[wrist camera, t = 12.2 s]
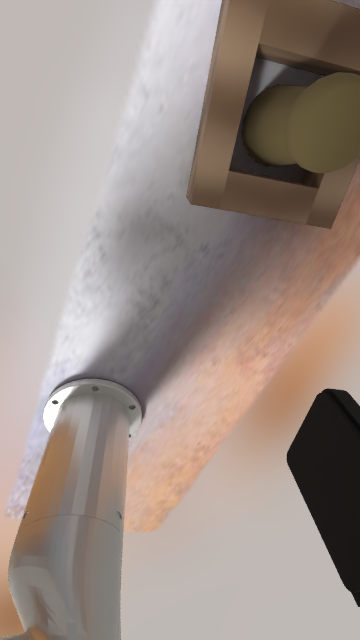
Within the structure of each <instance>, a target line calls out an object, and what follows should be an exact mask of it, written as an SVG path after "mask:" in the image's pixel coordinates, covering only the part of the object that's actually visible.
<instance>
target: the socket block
mask: <svg viewBox="0 0 360 640" xmlns="http://www.w3.org/2000/svg"><path fill="white" fill-rule="evenodd" d="M255 57H258V58H262V59H266V60H269V61H273V62H277V63H281V64H284V65H288V66H292V67H296V68H299V69H303V70H307V71H311V72H314V73H318V74H322V75H326V76H328V75H331V74H334V73H337V72H343V73H353V74H356V75H358V76H360V9H357V8H354V7H351V6H347V5H344V4H341V3H338V2H335V1H331V0H222V4H221V10H220V15H219V21H218V26H217V32H216V37H215V43H214V48H213V54H212V59H211V65H210V70H209V76H208V81H207V87H206V92H205V98H204V103H203V109H202V114H201V120H200V125H199V131H198V136H197V142H196V147H195V153H194V158H193V164H192V169H191V175H190V180H189V186H188V191H187V198H188V200H189V202H190V203H191V204H193V205H199V206H204V207H210V208H216V209H221V210H227V211H233V212H238V213H244V214H250V215H255V216H261V217H267V218H272V219H278V220H284V221H290V222H295V223H301V224H307V225H312V226H318V227H324V228H329V229H331V227H332V225H333V222H334V220H335V217H336V215H337V213H338V210H339V208H340V205H341V203H342V201H343V198H344V196H345V193H346V191H347V189H348V186H349V184H350V181H351V179H352V177H353V174H354V172H355V169H356V167H357V165H358V162H359V160H360V156H359V157H358V158H357V159H356V160H355V161H353V162H352V163H350V164H349V165H347V166H346V167H344V168H342V169H339V170H335V171H332V172H329V173H314V172H311V171H309V170H306V172H305V175H304V177H303V180H302V183H299V182H294V181H289V180H284V179H279V178H274V177H269V176H264V175H259V174H254V173H249V172H244V171H239V170H234V169H229V167H230V163H231V159H232V155H233V150H234V146H235V142H236V138H237V133H238V129H239V125H240V121H241V116H242V112H243V108H244V104H245V99H246V95H247V91H248V87H249V82H250V78H251V74H252V69H253V65H254V61H255Z"/></svg>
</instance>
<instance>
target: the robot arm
mask: <svg viewBox="0 0 360 640" xmlns="http://www.w3.org/2000/svg"><path fill="white" fill-rule="evenodd" d="M43 419H44V423H45V426H46V428H47V429H48V431H49V432H50V434H49V437H48V440H47V443H46V446H45V449H44V452H43V455H42V458H41V462H40V465H39V468H38V471H37V474H36V477H35V480H34V483H33V486H32V489H31V492H30V496H29V499H28V502H27V505H26V508H25V511H24V514H23V517H22V520H21V524H20V526H19V530H18V533H17V536H16V539H15V542H14V546H13V548H12V552H11V556H10V561H9V569H8V581H9V587H10V592H11V596H12V599H13V602H14V605H15V608H16V610H17V613H18V615H19V618H20V620H21V623H22V626H23V628H24V631H25V633H23V634H20V635H12V636H4V637H0V640H121V628H120V590H121V566H122V548H123V531H124V514H125V497H126V480H127V463H128V446H129V440H130V439H132V438H133V436H134V435H135V434H136V433H137V432H138V430H139V428H140V425H141V422H142V410H141V406H140V403H139V401H138V400H137V398H136V397H135V396H134V395H133V394H132V393H131V392H130V391H129V390H128V389H126V388H125V387H123V386H121V385H119V384H117V383H114V382H111V381H107V380H102V379H81V380H76V381H72V382H69V383H67V384H65V385H63V386H61V387H59V388H58V389H57V390H55V391H54V392H53V393H52V394H51V396H50V397H49V398H48V400H47V403H46V405H45V408H44V412H43ZM287 463H288V465H289V468H290V470H291V472H292V474H293V476H294V479H295V481H296V483H297V485H298V487H299V489H300V492H301V494H302V496H303V498H304V500H305V502H306V504H307V507H308V509H309V511H310V513H311V515H312V517H313V519H314V522H315V524H316V526H317V528H318V530H319V532H320V534H321V537H322V539H323V541H324V543H325V545H326V548H327V549H328V552H329V554H330V556H331V558H332V560H333V563H334V565H335V567H336V569H337V571H338V573H339V575H340V578H341V580H342V582H343V584H344V586H345V587H346V588H347V589H348V590H349V591H350V592H351V593H352V595H353V597H354V599H355V601H356V603H357V605H358V607H360V406H359V405H358V404H357V402H356V401H355V400H354V399H353V398H352V397H351V395H350V394H349V393H348V392H347V391H344V390H336V389H325V390H323V391H322V393H319V394H318V395H317V396H316V398H315V400H314V402H313V404H312V406H311V408H310V410H309V412H308V414H307V416H306V417H305V420H304V421H303V423H302V425H301V427H300V429H299V431H298V433H297V435H296V437H295V439H294V441H293V442H292V444H291V446H290V448H289V450H288V453H287Z"/></svg>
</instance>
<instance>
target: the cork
mask: <svg viewBox="0 0 360 640" xmlns="http://www.w3.org/2000/svg"><path fill="white" fill-rule="evenodd" d="M242 135H243V141H244V146H245V148H246V150H247V152H248V154H249V156H251V157H252V158H253V159H254V160H255V161H256V162H257V163H259V164H262V165H264V166H282V165H290V164H298V165H299V166H300V167H302V168H304V169H306V170H309V171H311V172H314V173H329V172H332V171H335V170H339V169H342V168H344V167H346V166H347V165H349V164H350V163H352V162H353V161H355V160H356V159H357V158H358V157H359V156H360V76H358V75H356V74H353V73H343V72H337V73H334V74H331V75H328V76H325V77H322V78H320V79H318V80H316V81H315V82H314V83H312V84H311V85H310V86H308V87H303V86H292V85H276V86H273V87H270V88H267V89H266V90H264V91H263V92H262V93H260V94H259V95H258V96H256V98H255V99H254V101H253V102H252V103H251V105H250V106H249V108H248V110H247V113H246V115H245V118H244V122H243V131H242Z"/></svg>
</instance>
